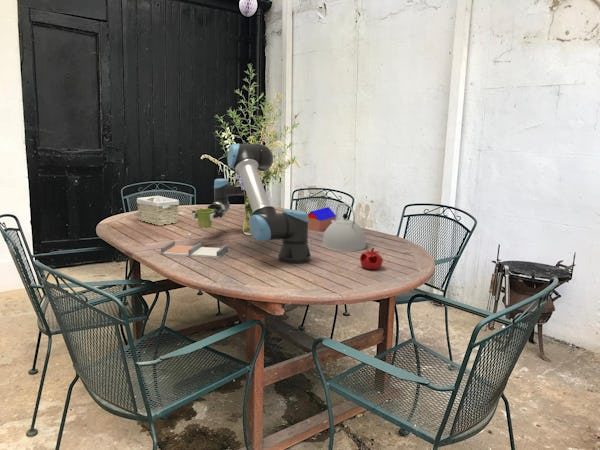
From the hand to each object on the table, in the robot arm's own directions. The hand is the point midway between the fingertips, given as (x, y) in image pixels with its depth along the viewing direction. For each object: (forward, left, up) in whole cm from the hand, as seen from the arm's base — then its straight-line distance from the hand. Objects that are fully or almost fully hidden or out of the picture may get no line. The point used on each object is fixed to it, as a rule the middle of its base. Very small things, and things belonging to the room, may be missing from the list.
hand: (201, 217), depth 238 cm
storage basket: (+14, -68, -16) cm, 71 cm away
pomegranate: (-64, +56, -16) cm, 87 cm away
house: (-77, -28, -16) cm, 84 cm away
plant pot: (-2, -4, -6) cm, 8 cm away
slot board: (+5, +9, -15) cm, 19 cm away
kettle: (-71, +16, -16) cm, 74 cm away
